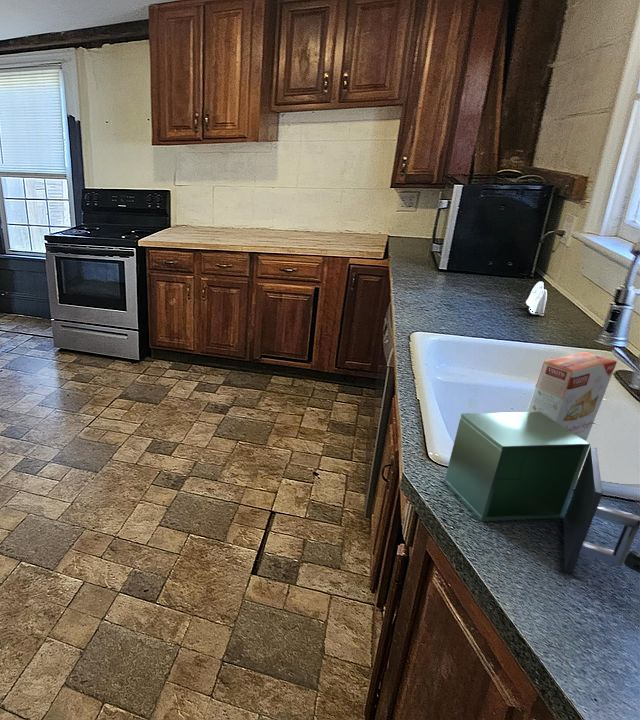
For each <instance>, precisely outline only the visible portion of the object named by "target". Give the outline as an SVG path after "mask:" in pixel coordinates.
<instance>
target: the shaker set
mask: <svg viewBox="0 0 640 720" xmlns="http://www.w3.org/2000/svg"><path fill="white" fill-rule="evenodd" d="M547 299H548V290H547V289H544V282H543V281H538V282H537V283H536V284H535V285H534V286H533V288H532V289H531V291H530V293H529V296H528V298H527V299H526V301H525V304H526V306H528V307H529V308H528V311H529V313H530V314H532V315H538V316H540V317H544V314H545V309H546V304H547ZM530 309H531V310H530ZM532 311H533V312H532ZM535 312H538V313H535ZM542 313H544V314H542Z"/></svg>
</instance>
